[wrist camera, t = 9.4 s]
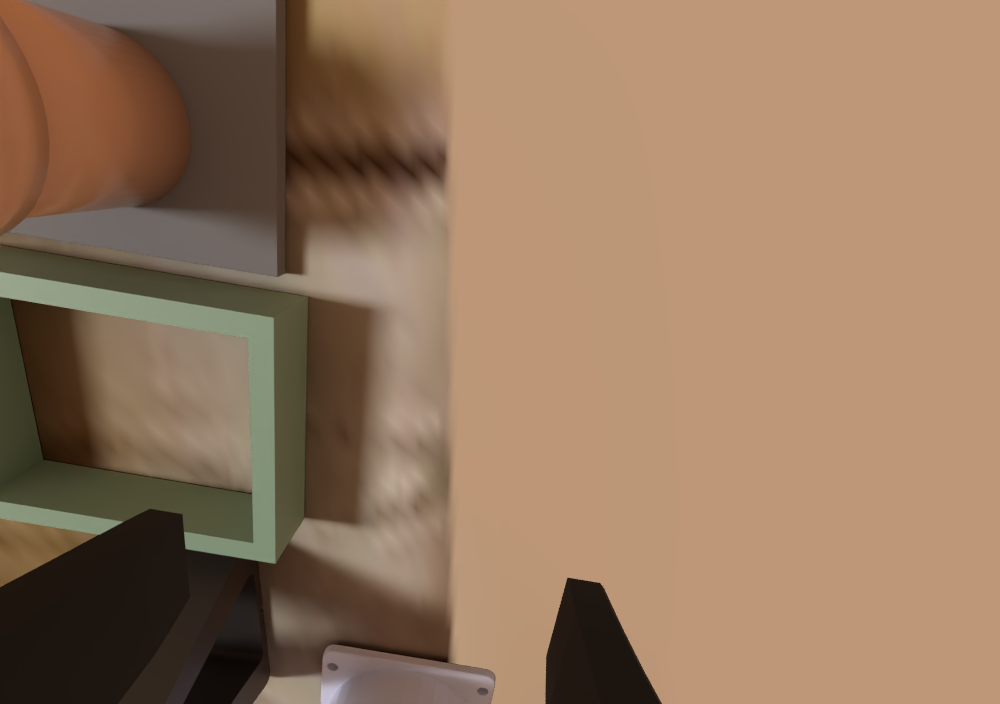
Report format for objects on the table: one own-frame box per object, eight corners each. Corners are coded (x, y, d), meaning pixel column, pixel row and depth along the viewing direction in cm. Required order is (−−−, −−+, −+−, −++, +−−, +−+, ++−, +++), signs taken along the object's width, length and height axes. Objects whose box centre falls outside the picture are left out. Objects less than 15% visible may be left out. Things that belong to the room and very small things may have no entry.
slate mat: (285, 273, 17) (277, 276, 16) (-6, 224, 17) (-24, 226, 16) (285, -45, 14) (275, -54, 13) (-73, -106, 14) (-99, -118, 13)
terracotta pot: (208, 233, 16) (30, 271, 10) (30, 203, 16) (-250, 225, 10) (197, 24, 14) (-35, -72, 8) (-8, -10, 14) (-386, -133, 8)
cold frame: (303, 518, 21) (275, 563, 18) (27, 472, 21) (-37, 512, 18) (308, 296, 17) (273, 317, 15) (-24, 241, 17) (-111, 253, 15)
